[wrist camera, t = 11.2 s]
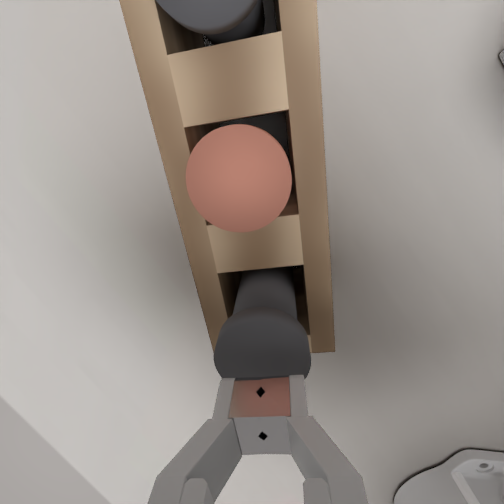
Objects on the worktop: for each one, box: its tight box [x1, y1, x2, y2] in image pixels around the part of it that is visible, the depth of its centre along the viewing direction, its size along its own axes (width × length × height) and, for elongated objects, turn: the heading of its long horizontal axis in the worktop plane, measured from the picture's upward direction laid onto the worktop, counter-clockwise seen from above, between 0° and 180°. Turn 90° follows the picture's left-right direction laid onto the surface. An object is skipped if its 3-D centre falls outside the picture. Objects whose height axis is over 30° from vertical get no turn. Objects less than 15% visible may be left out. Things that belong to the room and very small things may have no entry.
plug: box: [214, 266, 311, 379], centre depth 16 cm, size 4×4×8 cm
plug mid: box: [186, 124, 292, 233], centre depth 15 cm, size 4×4×8 cm
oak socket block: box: [119, 0, 335, 353], centre depth 17 cm, size 7×21×8 cm, turn 9°
